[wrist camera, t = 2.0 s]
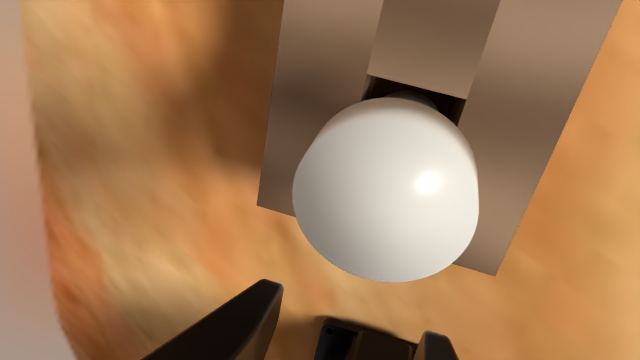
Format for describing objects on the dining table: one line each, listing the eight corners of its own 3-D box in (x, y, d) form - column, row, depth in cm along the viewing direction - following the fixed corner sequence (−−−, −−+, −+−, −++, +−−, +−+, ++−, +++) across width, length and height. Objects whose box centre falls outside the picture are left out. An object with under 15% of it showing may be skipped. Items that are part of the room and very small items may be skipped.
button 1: (451, 199, 18) (445, 303, 13) (328, 164, 19) (280, 252, 14) (496, 77, 16) (507, 151, 11) (354, 42, 17) (307, 98, 12)
